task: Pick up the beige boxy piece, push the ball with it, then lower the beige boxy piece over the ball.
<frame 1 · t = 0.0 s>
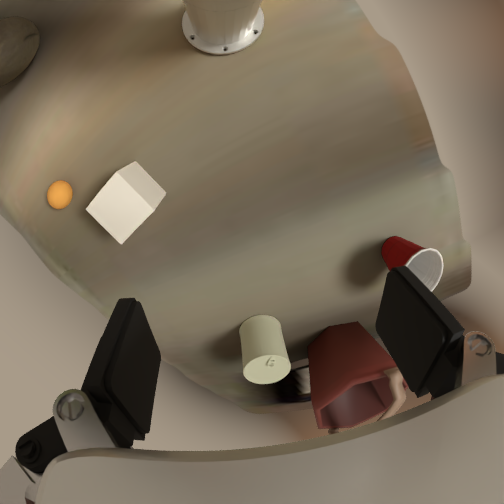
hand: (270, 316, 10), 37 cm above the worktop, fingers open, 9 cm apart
beige boxy piece: (135, 192, 43), on the worktop
ball: (59, 194, 39), on the worktop
bucket: (340, 345, 65), on the worktop
plastic cup: (392, 246, 53), on the worktop
can: (260, 329, 59), on the worktop
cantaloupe: (25, 56, 27), on the worktop
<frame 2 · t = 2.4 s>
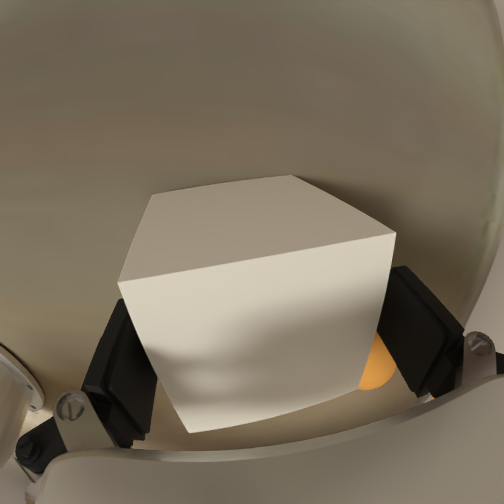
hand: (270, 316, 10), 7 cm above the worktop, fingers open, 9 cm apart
beige boxy piece: (230, 247, 16), on the worktop, tilted 6°
ball: (368, 360, 20), on the worktop
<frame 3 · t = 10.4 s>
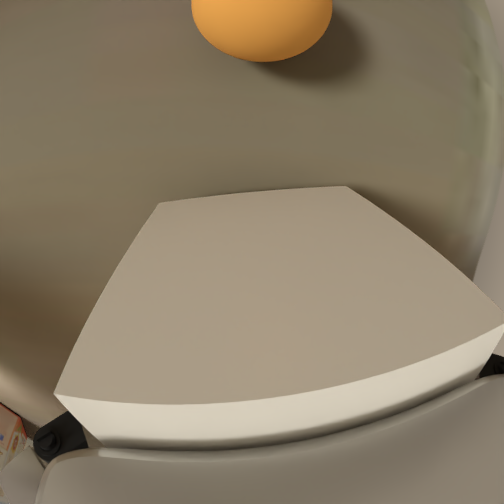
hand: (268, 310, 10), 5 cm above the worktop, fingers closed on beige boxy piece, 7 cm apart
beige boxy piece: (260, 275, 13), point 2 cm above the worktop, touching gripper
ball: (261, 3, 7), on the worktop
cracker box: (11, 418, 26), on the worktop
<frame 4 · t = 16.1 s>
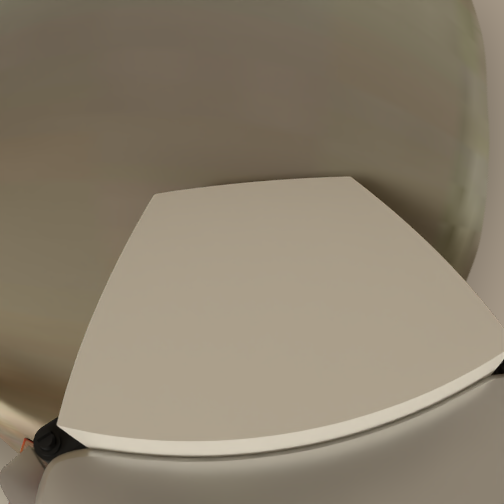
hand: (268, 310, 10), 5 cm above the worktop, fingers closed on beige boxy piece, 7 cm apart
beige boxy piece: (260, 266, 12), point 2 cm above the worktop, tilted 5°, touching gripper
when the fingers open (3 cm above the worktop, at t = 17.1 s): beige boxy piece stays where it is, on the worktop.
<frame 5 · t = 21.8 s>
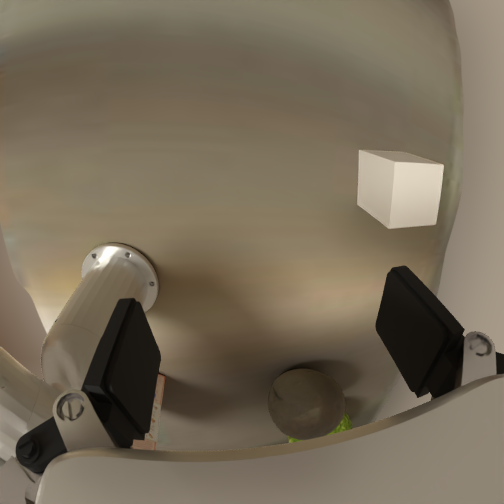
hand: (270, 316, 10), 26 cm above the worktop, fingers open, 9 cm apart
beige boxy piece: (381, 177, 35), on the worktop
cracker box: (142, 384, 51), on the worktop
lettuce: (311, 417, 63), on the worktop
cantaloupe: (298, 373, 52), on the worktop
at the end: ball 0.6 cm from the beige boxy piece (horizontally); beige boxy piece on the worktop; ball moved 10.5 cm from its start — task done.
